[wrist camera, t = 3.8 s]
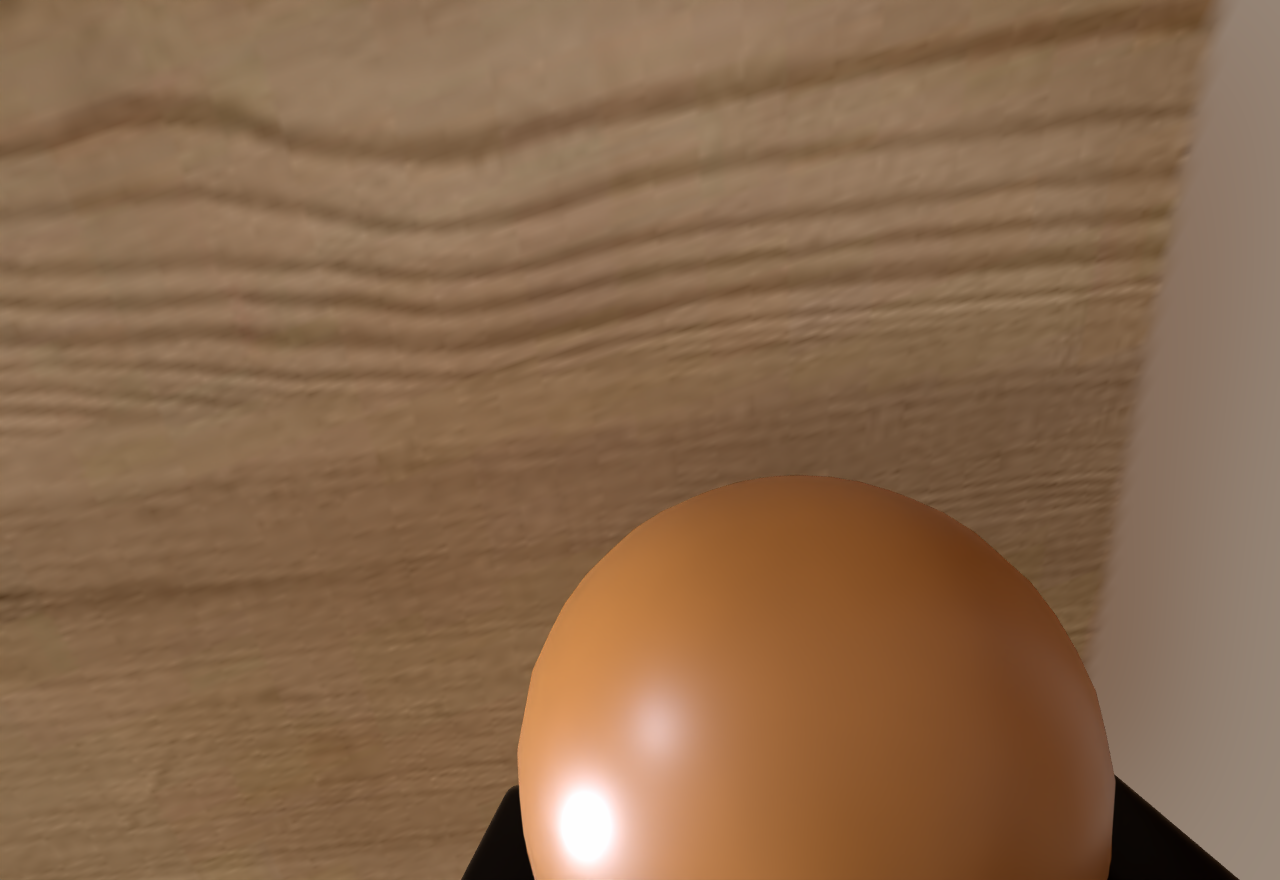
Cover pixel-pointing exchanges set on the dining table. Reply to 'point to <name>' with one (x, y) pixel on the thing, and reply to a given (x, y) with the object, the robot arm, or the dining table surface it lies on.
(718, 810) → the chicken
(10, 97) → the dining table surface
